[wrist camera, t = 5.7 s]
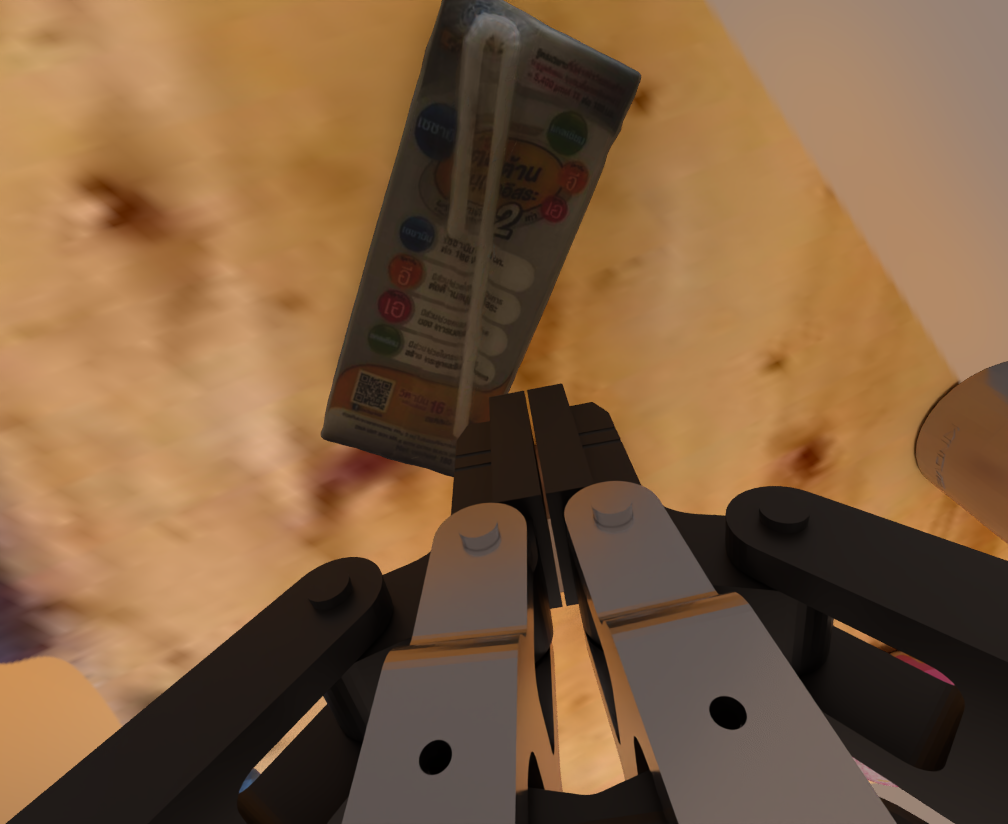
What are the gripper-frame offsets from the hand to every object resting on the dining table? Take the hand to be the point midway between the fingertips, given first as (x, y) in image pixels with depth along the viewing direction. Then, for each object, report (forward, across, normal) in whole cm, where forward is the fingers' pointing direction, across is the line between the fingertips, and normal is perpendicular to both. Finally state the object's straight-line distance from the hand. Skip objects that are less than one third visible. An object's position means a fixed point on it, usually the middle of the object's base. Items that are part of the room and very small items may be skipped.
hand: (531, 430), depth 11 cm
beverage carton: (+19, +2, 0) cm, 19 cm away
